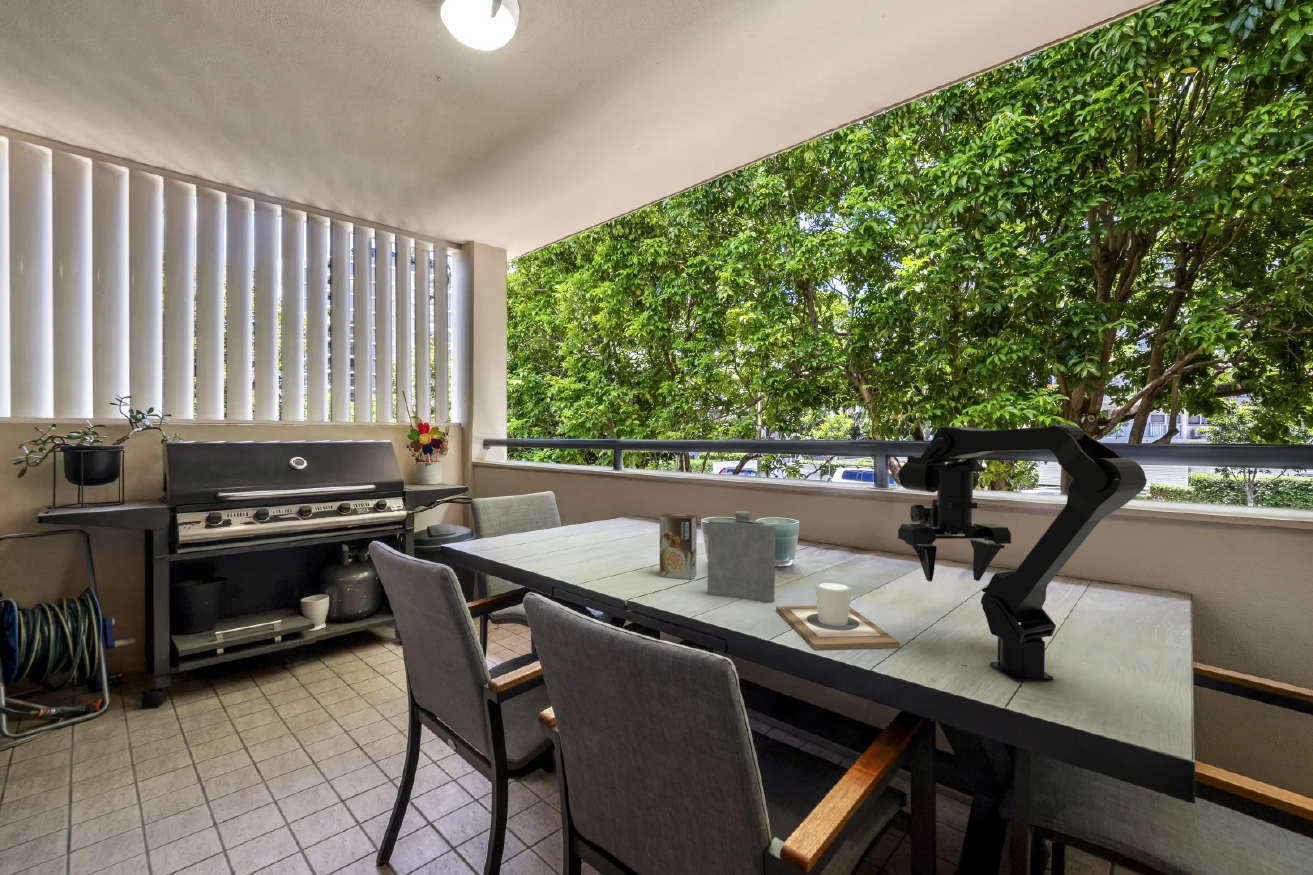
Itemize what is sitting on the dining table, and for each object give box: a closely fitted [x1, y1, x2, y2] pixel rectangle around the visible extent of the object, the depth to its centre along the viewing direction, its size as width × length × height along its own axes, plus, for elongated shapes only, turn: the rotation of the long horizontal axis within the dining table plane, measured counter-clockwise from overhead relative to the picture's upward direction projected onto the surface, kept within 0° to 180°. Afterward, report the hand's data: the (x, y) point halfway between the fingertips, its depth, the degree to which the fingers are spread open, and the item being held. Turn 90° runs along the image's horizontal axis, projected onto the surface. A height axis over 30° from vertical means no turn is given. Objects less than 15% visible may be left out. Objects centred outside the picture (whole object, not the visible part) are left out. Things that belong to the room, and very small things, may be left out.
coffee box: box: [659, 513, 698, 580], centre depth 153 cm, size 9×6×16 cm
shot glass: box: [815, 581, 852, 626], centre depth 113 cm, size 7×7×7 cm
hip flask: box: [707, 510, 777, 604], centre depth 134 cm, size 16×4×20 cm, turn 66°
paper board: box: [775, 604, 901, 651], centre depth 114 cm, size 22×16×1 cm
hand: (953, 580), depth 104 cm, fingers open, 9 cm apart
